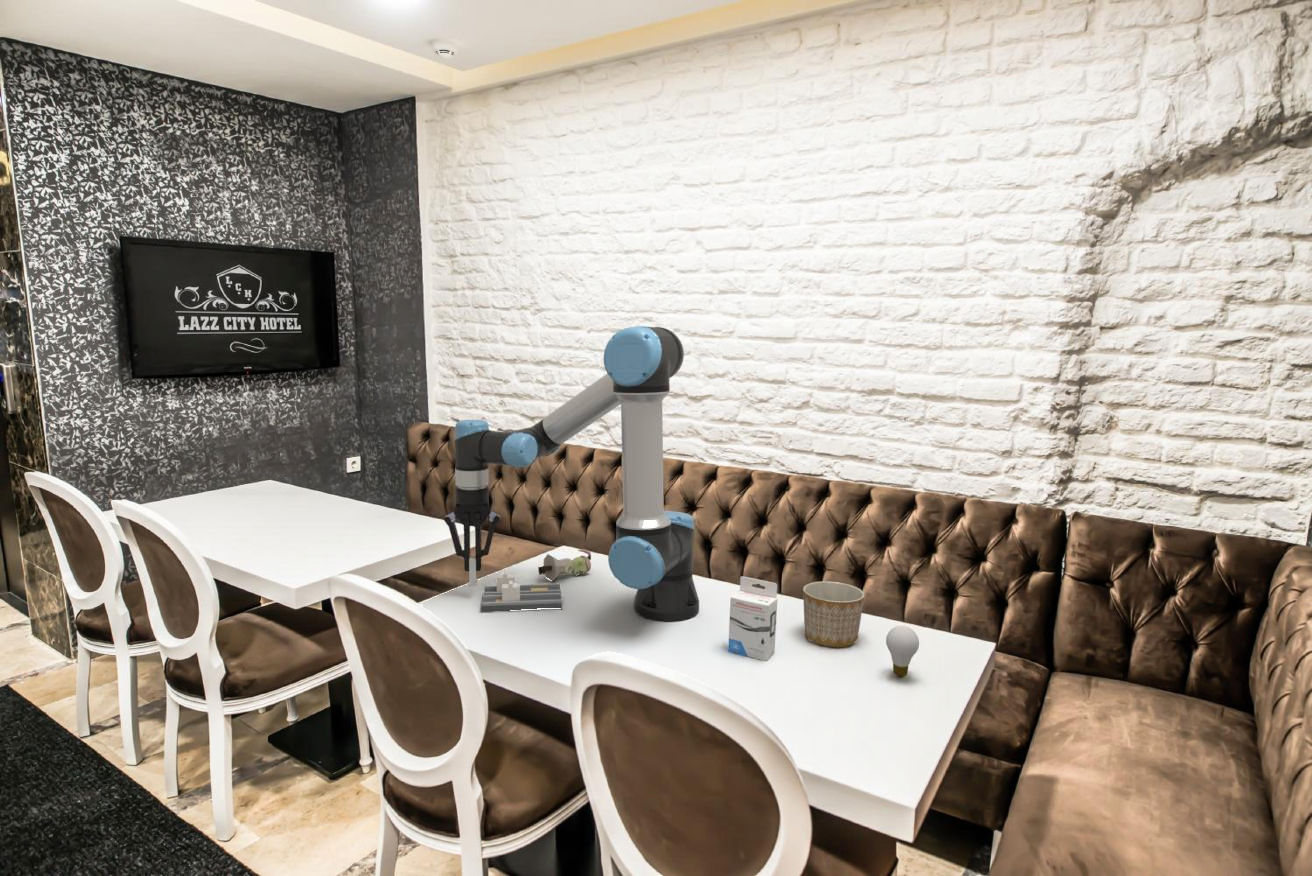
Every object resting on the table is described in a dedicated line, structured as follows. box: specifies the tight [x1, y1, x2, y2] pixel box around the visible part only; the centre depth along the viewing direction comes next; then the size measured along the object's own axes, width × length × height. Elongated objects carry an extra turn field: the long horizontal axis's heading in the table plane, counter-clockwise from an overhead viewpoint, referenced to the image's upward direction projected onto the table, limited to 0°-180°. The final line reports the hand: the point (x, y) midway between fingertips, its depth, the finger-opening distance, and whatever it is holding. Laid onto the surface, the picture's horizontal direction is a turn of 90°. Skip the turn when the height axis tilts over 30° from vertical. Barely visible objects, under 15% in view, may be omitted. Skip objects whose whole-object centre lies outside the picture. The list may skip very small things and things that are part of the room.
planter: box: [802, 580, 865, 648], centre depth 159 cm, size 13×13×10 cm
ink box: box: [727, 575, 778, 662], centre depth 151 cm, size 8×5×15 cm, turn 60°
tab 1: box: [496, 570, 515, 592], centre depth 179 cm, size 4×2×4 cm, turn 99°
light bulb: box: [885, 625, 920, 679], centre depth 142 cm, size 6×6×10 cm
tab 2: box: [502, 581, 521, 602], centre depth 173 cm, size 4×2×4 cm, turn 99°
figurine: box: [537, 548, 592, 582], centre depth 195 cm, size 9×7×15 cm
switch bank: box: [481, 582, 563, 613], centre depth 177 cm, size 18×12×2 cm, turn 99°
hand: (473, 583), depth 178 cm, fingers closed
